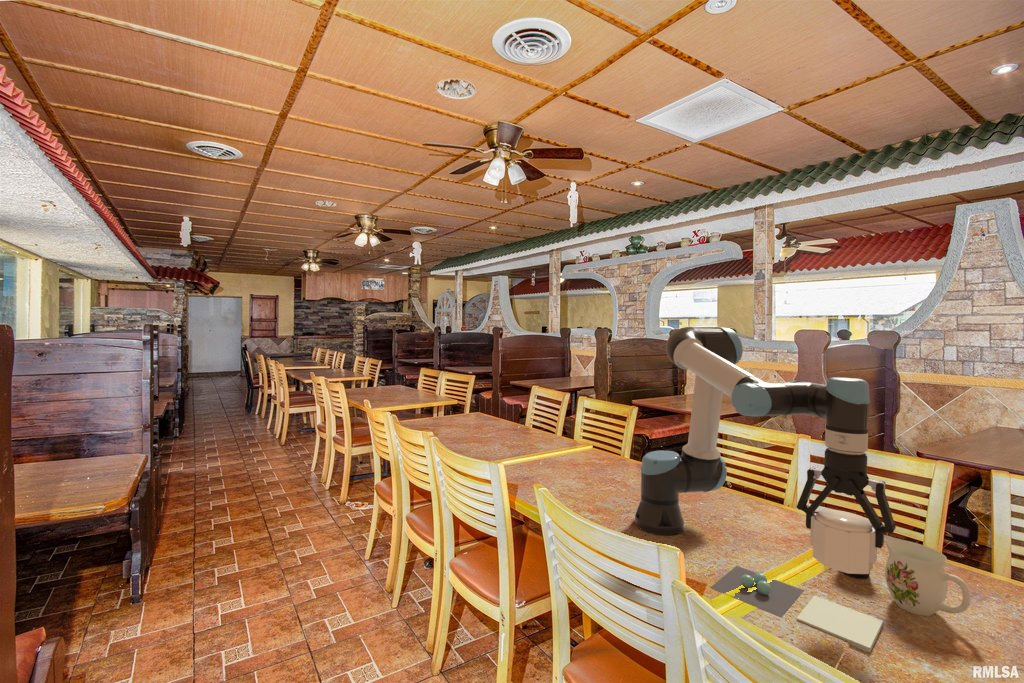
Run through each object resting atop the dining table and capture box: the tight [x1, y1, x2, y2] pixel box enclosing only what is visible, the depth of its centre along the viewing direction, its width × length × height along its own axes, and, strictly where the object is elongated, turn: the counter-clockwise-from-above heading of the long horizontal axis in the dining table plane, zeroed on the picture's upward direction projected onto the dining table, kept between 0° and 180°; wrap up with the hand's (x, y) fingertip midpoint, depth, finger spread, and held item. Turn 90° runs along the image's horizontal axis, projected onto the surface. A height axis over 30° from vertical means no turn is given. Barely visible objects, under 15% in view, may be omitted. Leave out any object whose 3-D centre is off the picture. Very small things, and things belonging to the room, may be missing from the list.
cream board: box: [796, 595, 884, 654], centre depth 103 cm, size 13×13×1 cm
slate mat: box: [709, 565, 805, 619], centre depth 116 cm, size 16×16×1 cm
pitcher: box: [884, 534, 972, 617], centre depth 109 cm, size 11×18×14 cm, turn 21°
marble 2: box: [754, 572, 767, 584], centre depth 117 cm, size 3×3×3 cm
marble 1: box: [740, 575, 754, 588], centre depth 116 cm, size 3×3×3 cm
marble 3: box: [757, 581, 771, 595], centre depth 114 cm, size 3×3×3 cm
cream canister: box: [812, 509, 874, 575], centre depth 103 cm, size 10×10×10 cm
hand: (842, 552), depth 103 cm, fingers closed on cream canister, 10 cm apart
